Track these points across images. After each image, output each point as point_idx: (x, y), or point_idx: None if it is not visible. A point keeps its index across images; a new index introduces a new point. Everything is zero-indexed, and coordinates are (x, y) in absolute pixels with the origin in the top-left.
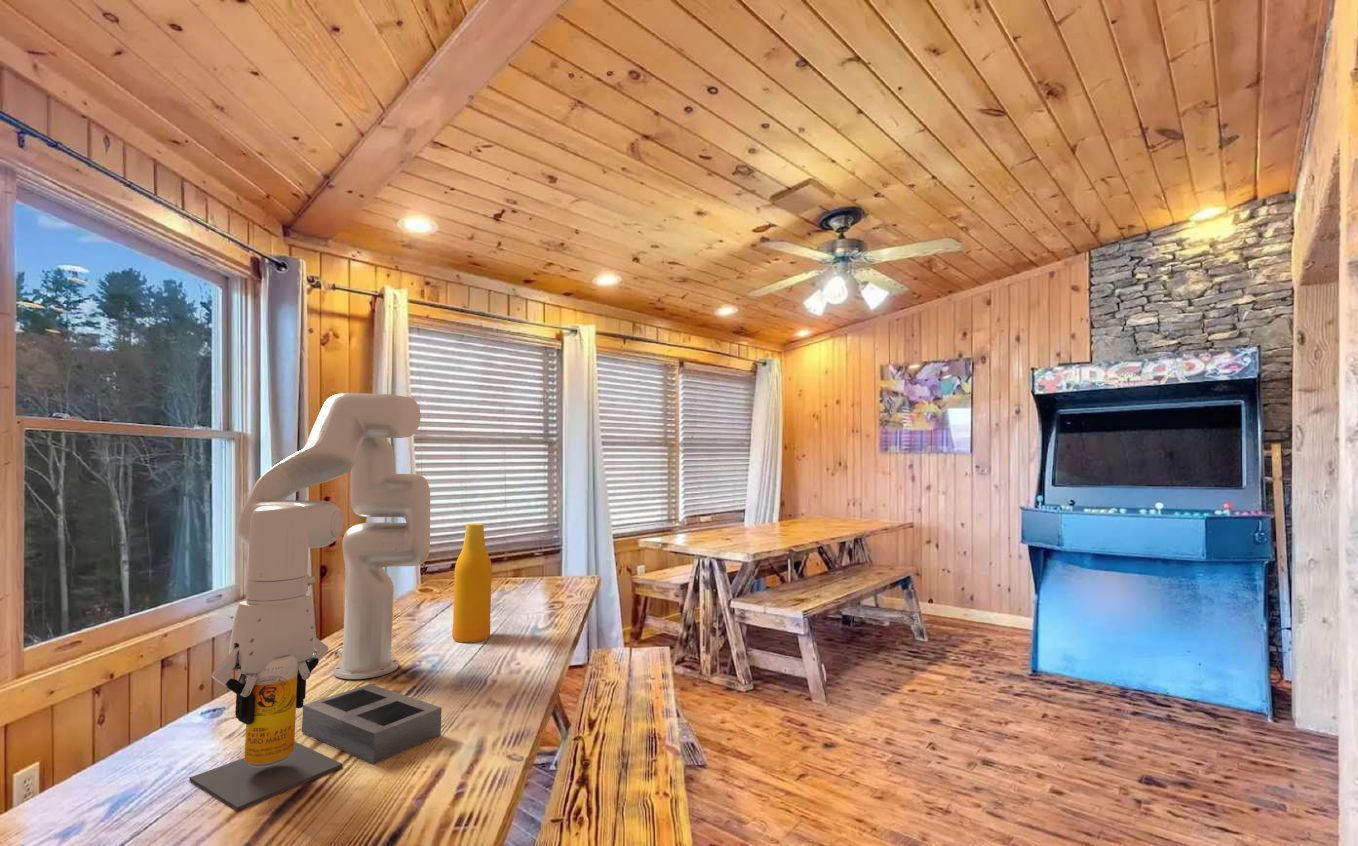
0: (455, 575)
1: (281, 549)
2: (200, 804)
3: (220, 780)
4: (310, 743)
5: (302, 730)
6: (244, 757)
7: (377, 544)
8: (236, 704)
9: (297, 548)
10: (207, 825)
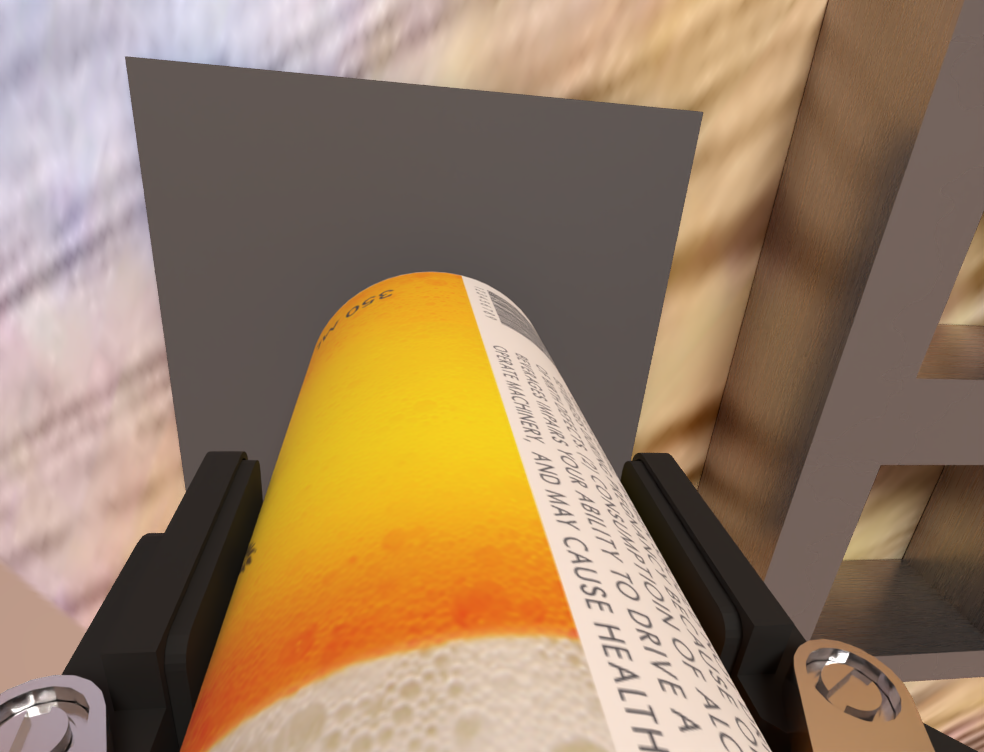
0: None
1: None
2: (108, 375)
3: (235, 257)
4: (729, 200)
5: (836, 1)
6: (320, 335)
7: None
8: (102, 618)
9: None
10: (84, 550)
